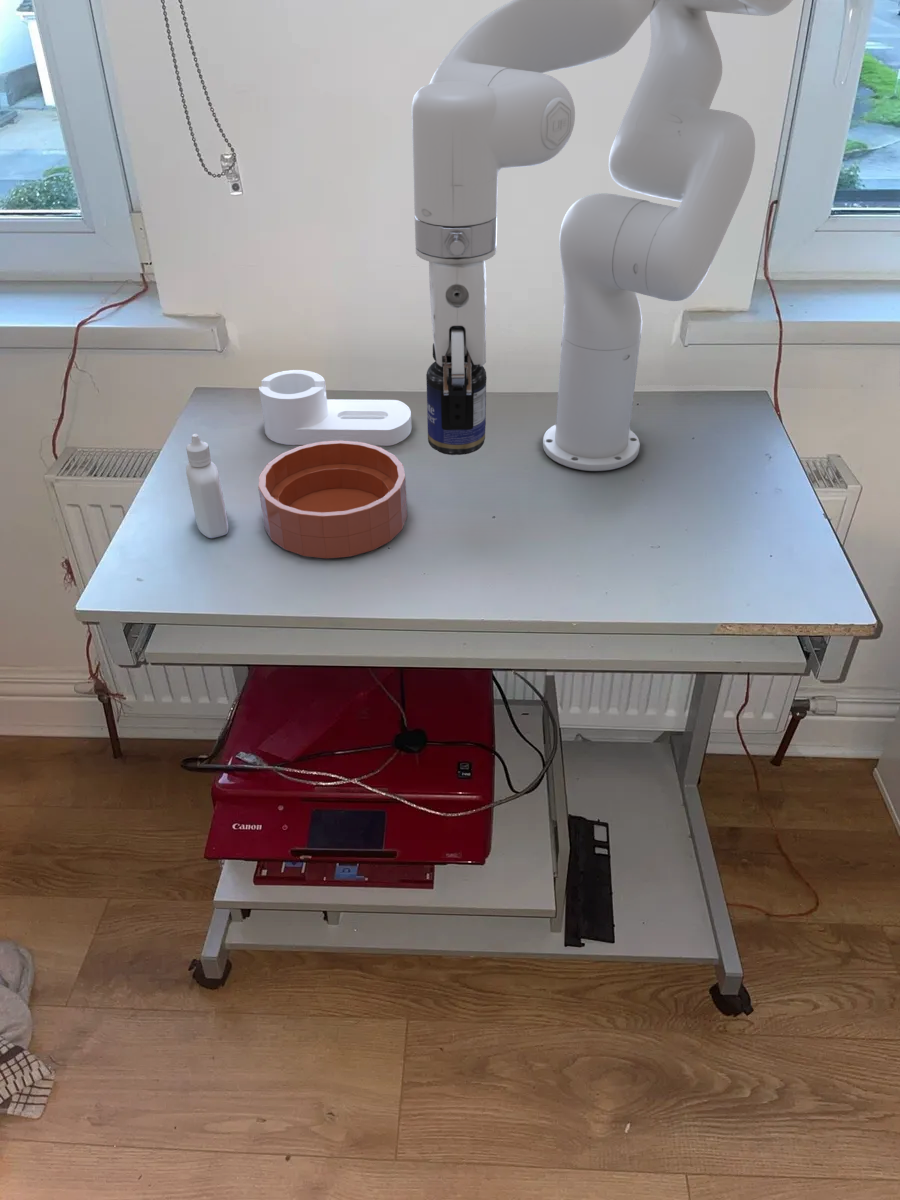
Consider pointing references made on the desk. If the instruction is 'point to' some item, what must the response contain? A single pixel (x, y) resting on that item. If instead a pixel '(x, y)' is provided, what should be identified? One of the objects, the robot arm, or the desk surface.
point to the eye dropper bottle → (206, 490)
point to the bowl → (333, 498)
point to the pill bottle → (437, 437)
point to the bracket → (327, 413)
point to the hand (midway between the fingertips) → (456, 411)
